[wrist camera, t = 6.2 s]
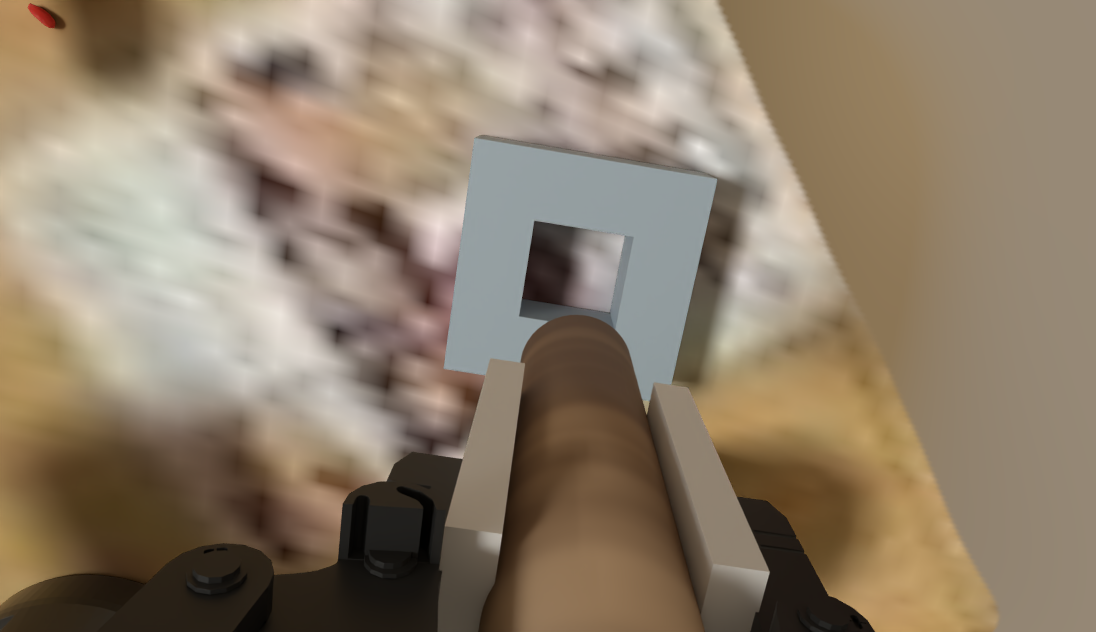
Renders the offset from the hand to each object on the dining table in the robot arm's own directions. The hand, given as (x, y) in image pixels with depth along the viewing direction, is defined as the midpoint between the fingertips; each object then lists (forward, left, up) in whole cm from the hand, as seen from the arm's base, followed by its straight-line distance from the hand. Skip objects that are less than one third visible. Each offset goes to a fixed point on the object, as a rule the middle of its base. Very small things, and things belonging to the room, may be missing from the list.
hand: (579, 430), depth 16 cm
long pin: (0, 0, -4) cm, 4 cm away
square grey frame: (0, 0, -19) cm, 19 cm away
